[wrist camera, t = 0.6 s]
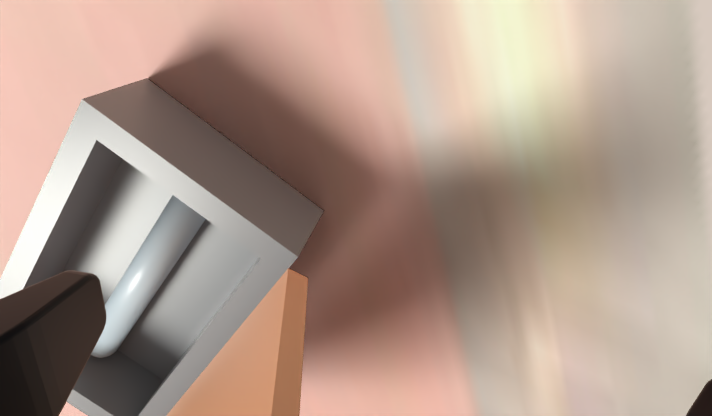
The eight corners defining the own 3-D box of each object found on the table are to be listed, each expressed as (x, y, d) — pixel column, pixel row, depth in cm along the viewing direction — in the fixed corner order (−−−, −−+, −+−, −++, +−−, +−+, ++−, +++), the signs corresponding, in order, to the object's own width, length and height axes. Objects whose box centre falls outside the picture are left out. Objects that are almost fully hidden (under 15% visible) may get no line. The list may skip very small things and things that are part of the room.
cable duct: (323, 211, 22) (298, 257, 18) (180, 387, 28) (139, 448, 24) (147, 78, 21) (82, 99, 17) (37, 291, 27) (-28, 340, 23)
